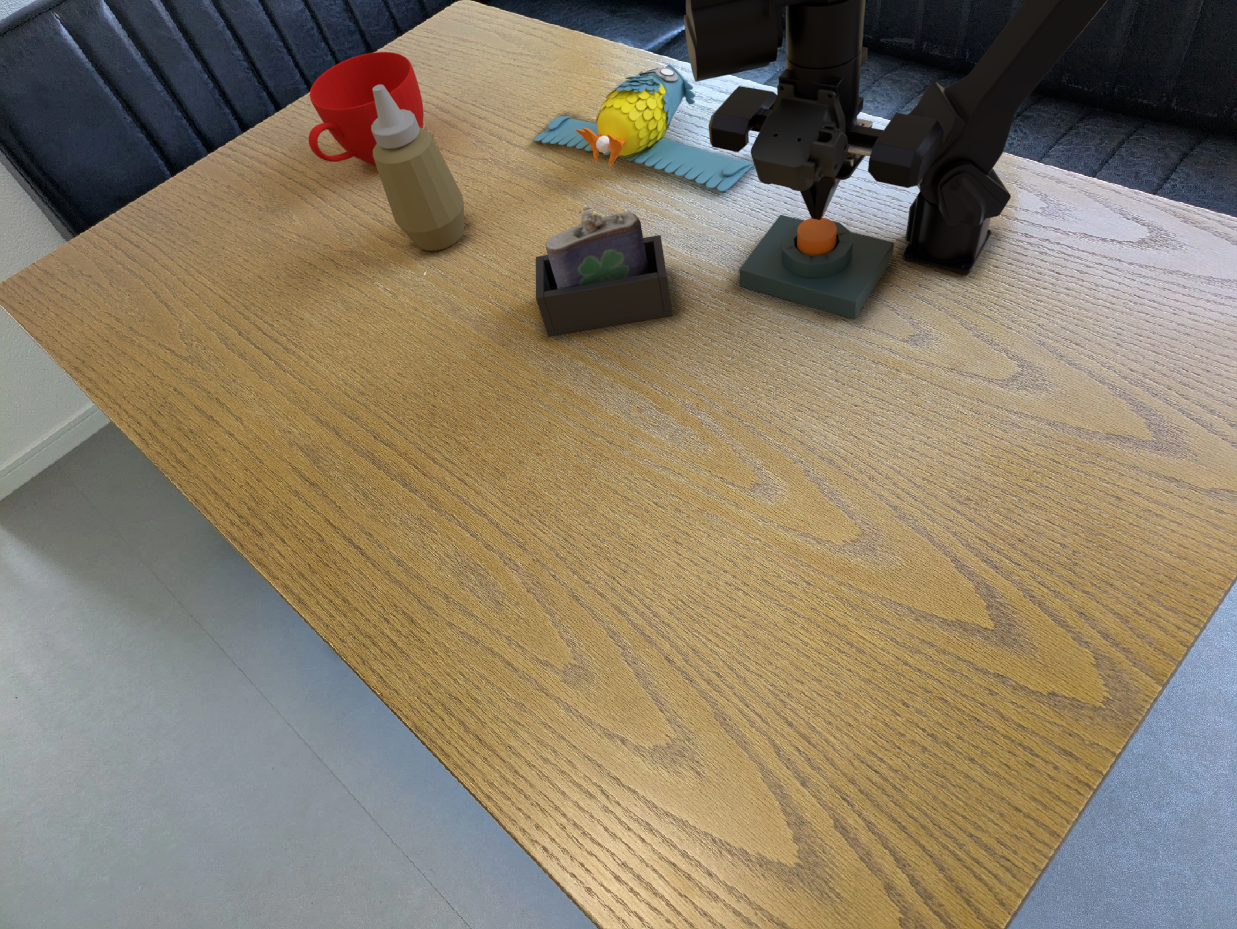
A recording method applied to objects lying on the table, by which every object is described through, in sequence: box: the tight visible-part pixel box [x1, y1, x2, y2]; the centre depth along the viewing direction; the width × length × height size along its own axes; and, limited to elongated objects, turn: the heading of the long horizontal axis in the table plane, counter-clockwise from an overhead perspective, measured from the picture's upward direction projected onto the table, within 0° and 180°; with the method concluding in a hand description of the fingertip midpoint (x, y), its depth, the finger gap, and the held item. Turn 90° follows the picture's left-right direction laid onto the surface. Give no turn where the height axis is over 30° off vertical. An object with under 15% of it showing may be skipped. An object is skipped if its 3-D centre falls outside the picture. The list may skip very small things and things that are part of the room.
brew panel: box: [738, 214, 895, 320], centre depth 79 cm, size 12×9×4 cm
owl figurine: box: [533, 63, 754, 192], centre depth 95 cm, size 28×9×15 cm
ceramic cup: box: [307, 51, 424, 168], centre depth 102 cm, size 13×17×10 cm
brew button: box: [797, 216, 837, 256], centre depth 77 cm, size 4×4×2 cm
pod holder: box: [535, 234, 674, 337], centre depth 81 cm, size 13×6×5 cm, turn 94°
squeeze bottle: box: [371, 85, 465, 252], centre depth 87 cm, size 8×8×18 cm
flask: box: [545, 205, 650, 289], centre depth 78 cm, size 9×3×11 cm, turn 106°
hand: (818, 216), depth 75 cm, fingers closed
